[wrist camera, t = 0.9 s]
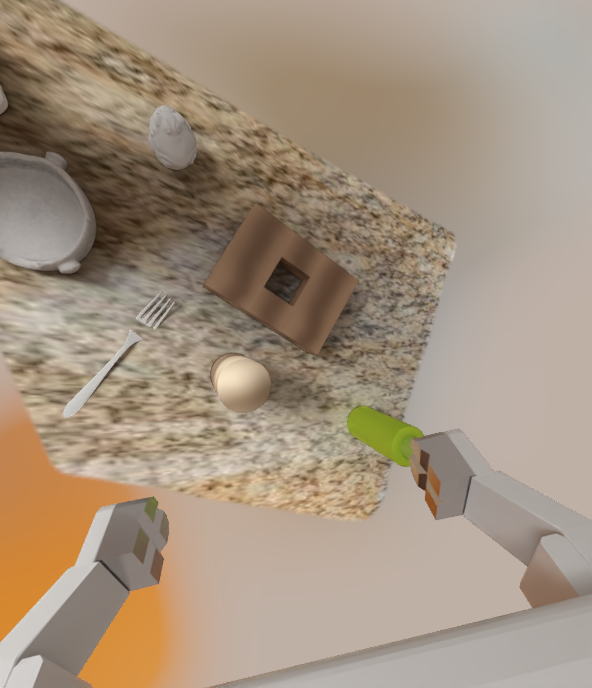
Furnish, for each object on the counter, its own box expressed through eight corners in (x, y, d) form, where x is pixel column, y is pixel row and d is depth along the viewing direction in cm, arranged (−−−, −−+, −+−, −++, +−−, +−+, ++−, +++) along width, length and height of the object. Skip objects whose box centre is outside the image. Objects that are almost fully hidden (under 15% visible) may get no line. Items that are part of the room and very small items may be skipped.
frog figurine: (186, 128, 47) (187, 95, 40) (203, 177, 48) (205, 153, 41) (143, 133, 45) (136, 100, 39) (161, 184, 46) (157, 160, 40)
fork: (39, 427, 43) (33, 431, 41) (160, 289, 47) (159, 288, 45) (61, 440, 44) (57, 444, 42) (178, 304, 48) (178, 303, 46)
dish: (99, 279, 44) (89, 273, 40) (-29, 269, 40) (-58, 262, 35) (100, 172, 44) (90, 153, 39) (-30, 150, 39) (-59, 126, 35)
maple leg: (205, 355, 49) (212, 364, 36) (245, 348, 51) (267, 354, 38) (212, 395, 50) (222, 419, 37) (252, 386, 52) (275, 406, 39)
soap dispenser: (339, 411, 57) (416, 452, 38) (373, 402, 59) (461, 436, 40) (344, 443, 58) (422, 498, 39) (377, 433, 60) (466, 481, 41)
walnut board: (202, 287, 49) (204, 283, 45) (249, 211, 50) (255, 202, 47) (308, 353, 55) (317, 354, 51) (347, 283, 56) (358, 280, 53)
